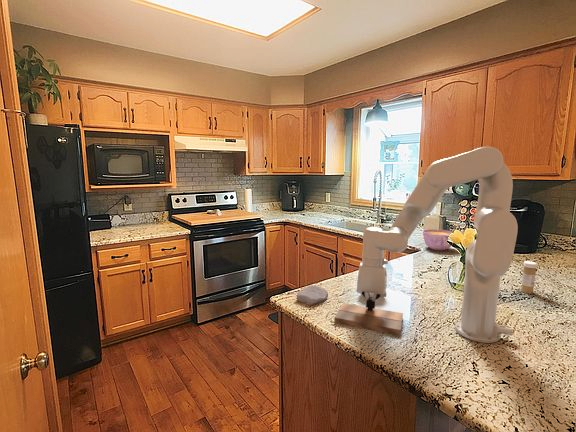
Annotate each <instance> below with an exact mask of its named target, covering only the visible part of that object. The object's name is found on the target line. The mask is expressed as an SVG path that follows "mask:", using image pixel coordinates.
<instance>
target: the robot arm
mask: <svg viewBox="0 0 576 432" xmlns="http://www.w3.org/2000/svg"><path fill="white" fill-rule="evenodd" d="M512 176H513V175H512V172H511V171H510V169H509V167H508V166H507V164H506V162H504V155H503V154H502V151H500V150H499V149H498V148H496V147H494V146H481V147H478V148H475V149H473V150H470V151H467V152H463V153H461V154H457V155H455V156H451V157H448V158H447V157H446V158H443V159H440V160H436V161H434V162H432V163H431V164H430V165H428V167H427V169H426V170H425V172H424V173H423V175H422V177H421V178H420V180H419V181H418V183H417V184H416V186H415V187H414V189H413V190H412V191H411V193H410V195H408V196H409V197H408V198H407V200H406V201H405V203H404V205H403V207H402V209H401V211H399V214H398V216H397V217H396V219H395V220H394V221H393V223H392V224H391V226H390V228H389V229H388V230H387V231H386V230H385V229H383V228H381V227H375V226H373V227H372V226H369V227H366V228H364V230H363V237H362V253H361V254H362V255H361V256H362V257H361V258H362V260H361V262H360V264H359V267H358V272H357V274H358V275H357V281H356V291H355V292H356V293H357V294H360V295H362V296H363V297H364V298H365V300H366V301H365V307H368V311H372V310H373V308H375V307H376V301H377V300H378V299H379V298H386V297H387V291H386V290H387V267H386V265H388V264H389V260H388V259H385V251H386V252H390V253H395V254H396V253H403V252H404V251H405V250H406V249H407V248H408V245H409V239H410V237H411V236H412V234H413V233H414V231H416V228H417V227H418V225H419V224H420V223H421V222H422V221H423V219H425V218H426V217H428V216H429V215H430V214H431V213H432V212H433V210H434V209H435V207H436V206H437V205H438V203H439V202H440V200H441V198H442V197H443V196H444V194H445V193H446V192H447V190H448V189H449V188H452V187H457V186H459V185H460V186H461V185H464V184H467V183H469V182H474V181H478V185H479V186H478V188H479V189H478V196H477V197H478V199H477V204H476V209H475V213H474V217H473V226H474V228H475V229H476V231H477V232H476V239H474V240H472V241H471V242H470V243H469V244H468V246H467V247H466V249H465V268H464V269H465V270H464V271H465V272H464V284H463V285H464V286H463V295H462V307H461V316H460V317H461V318H460V321H456V323H455V324H454V329H455V331H456V333H458V334H459V335H460V336H463V337H464V338H466V339H468V340H470V341H473V342H477V343H484V344H494V343H496V342H498V341H500V338H501V334H502V335H508V336H513V335H514V330H513V329H512V328H507V326H506V325H504V324H498V323H497V322H496V320H497V310H498V301H499V292H500V284H501V283H500V282H501V277H503V276H504V275H505V274H507V272H508V271H509V270H510V268H511V265H512V261H513V257H514V252H515V247H516V242H517V238H518V237H517V236H518V229H519V227H518V222H517V219H516V216H515V215H513V213H512V212H510V210H511V203H512V196H513V188H514V185H513V183H514V182H513V177H512ZM370 293H373V297H370ZM375 309H376V308H375Z"/></svg>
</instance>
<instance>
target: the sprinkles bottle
mask: <svg viewBox="0 0 576 432" xmlns="http://www.w3.org/2000/svg"><path fill="white" fill-rule="evenodd" d="M522 265H523V269H522V270H523V271H522V277H521V289H520V291H521V292H522V293H524V294H529V295H531V294H534V287H535V282H536V274H537V273H536V272H537V268H538V263H537V262H534V261H531V260H530V261H529V260H527V261H526V260H525V261H524V262H523V264H522Z"/></svg>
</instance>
